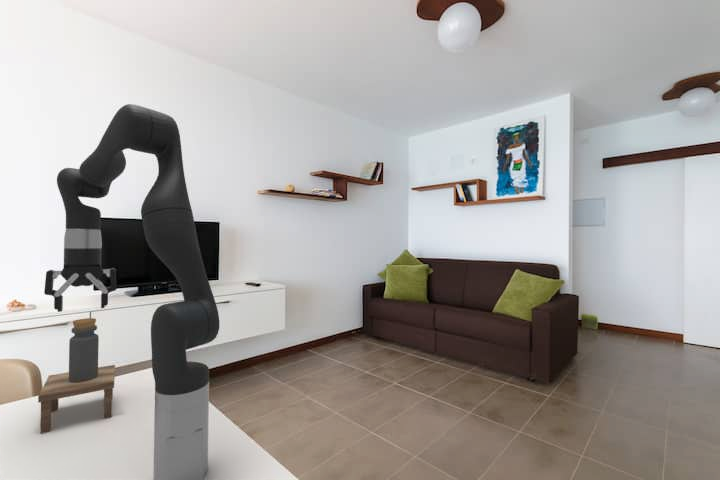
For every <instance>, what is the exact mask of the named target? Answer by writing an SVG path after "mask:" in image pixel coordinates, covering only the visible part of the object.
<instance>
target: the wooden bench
mask: <svg viewBox="0 0 720 480" xmlns="http://www.w3.org/2000/svg"><path fill="white" fill-rule="evenodd" d="M115 373H116V364H112V365H110V364H109V365H106V366H98V376H97V377H96V378H94V379H91V380H88V381H84V382H69V371H68V372H62V373H61V372H60V373H56V374H50V375H48V376H47V379H46V381H45V382H44V384H43V386H42V387H41V390H40V392H39V393H38V397H37V399H38V401H37V402H38V404H39V403H40V426H39V427H40V428H39V429H40V431H39V433H40V434H45V433H49V432H51V429H52V413H54V412H58V410H59V399H64V398H69V397H74V396H79V395H84V394H90V393H95V392H99V391H103V419H105V420H106V419H108V418H112V415H113V411H112V410H113V397H114V396H113V395H114V393H113V391H114V389H115V378H116V376H115Z"/></svg>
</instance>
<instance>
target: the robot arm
mask: <svg viewBox="0 0 720 480" xmlns="http://www.w3.org/2000/svg"><path fill="white" fill-rule="evenodd" d="M129 149H130V150H132V151H136V152H140V153H146V154H149V155H154V156H155V158H156V161H157V165H158V173H157V177H156V179H155V181H154V184H153V185H152V186H151V188H150V189H149V191H148V192H147V195H146V197H145V198H144V200H143V203H142V204H141V208H140V216H141V222H142V226H143V232H144V237H145V241H146V243H147V245H148V246H149V249H151V251H152V252H153V253H154V254H155V256H157V258H158V259H159V260H160V261H161V262H162V263H163V265H165V266H166V268H168V269H169V271H170V272H171V273H172V274H173V275H174V278H175V279H176V280H177V282H178V284H179V288H180V290H181V293H182V296H183V300H182V301H174V302H169V303H165V304H162V305H160V306H157V308H156V309H155V311H154V312H153V314H152V318H151V323H150V341H151V342H150V343H151V345H150V346H151V370H152V375H153V378H154V419H153V420H154V422H153V423H154V425H153V427H154V429H153V433H154V434H153V475H152V476H153V477H152V478H153V480H204V476H205V475H206V473H207V472H208V470H209V469H208V468H209V467H208V466H209V465H208V464H209V410H210V409H209V406H210V405H209V404H210V403H209V401H210V368H209V367H208V365H207V364H205V363H203V362H199V361H188V360H187V350H190V349H194V348H197V347H200V346H204V345H207V344H208V343H211V342H213V341H214V340H215V339H216V338H217V336H218V335H219V331H220V315H219V310H218V306H217V303H216V299H215V297H214V294H213V291H212V288H211V285H210V281H209V279H208V276H207V273H206V269H205V266H204V265H205V264H204V261H203V257H202V254H201V252H202V251H201V249H200V244H199V240H198V233H197V229H196V224H195V219H194V215H193V210H192V205H191V202H190V198H189V194H188V188H187V183H186V177H185V169H184V162H183V161H184V160H183V152H182V151H183V150H182V143H181V134H180V130H179V126H178V124H177V122H176V121H175V119H174V118H173V117H172V116H170V115H168V114H166V113H163V112H161V111H157V110H154V109H151V108H147V107H145V106H141V105H138V104H131V103H129V104H125V105H123V106H122V107H120V108H119V109H118V110H117V112H116V113H115V114H114V115H113V117H112V119H111V121H110V122H109V125H108V126H107V128H106V130H105V132H104V133H103V135H102V137H101V139H100V140H99V144H97V146H96V148H95V149H94V151H93V152H91V154H89V156H87V158H85V159H84V160H83V161H82V162H81V164H80V165H79V168H73V167H65V168H63V169H61V170H60V171H59V172H58V173H57V176H56V185H57V188H58V191H59V193H60V196H61V200H62V203H63V207H64V211H65V232H64V236H63V237H64V238H63V240H64V241H63V266H62V267H63V268H62V270H53V269H48V270H47V271H46V273H45V280H44V282H45V283H44V295H46V296H47V295H48V296H52V297H53V298H54V300H53V301H54V302H53V309H54V310H57V313H59V312H63V304H64V303H63V299H64V298H63V297H64V296H63V295H62V294H64V293H65V292H66V290H67V289H68V288H69V287H70V286H72V287H75V288H76V287H81V286H83V287H90V286H93V285H94V286H95V288H97V289H98V290H100V292H101V294H100V309H105V307H107V306H108V304H109V302H108V301H109V293H112V292H114V291H116V290H117V287H118V286H117V274H116V273H117V272H116V271H117V270H116V268H115V267H114V268H113V267H112V268H105V269H103V268H102V247H103V242H102V240H103V239H102V238H103V237H102V232H101V231H102V230H101V226H102V224H101V223H102V222H101V221H102V212H101V210H100V209H99V208H98V207H94V206H90V205H87V204H84V203H83V202H82V201H81V199H80V198H90V199H102V198H104V197H107V195H109V192H110V188H111V185H112V183H113V182H114V181H115V180H116V179H117V178H119V177H120V176H121V175H122V174H123V173H124V171H125V170H126V166H127V159H126V157H125V153H124V150H129ZM103 274H105V275H106V277H107V278H109V279H110V280H109V281H110V286H108V287H106V286H105V285H104V283H103V282H102V281H101V280H100V278H101V277H102V276H103ZM59 276H61V277H62V278H63V279H64V280H65V282H64V283H63V284H62V285H61V286H60V287H59V288H58V289H57V290H56V289H54V281H55V280H56V279H57V278H58V277H59Z"/></svg>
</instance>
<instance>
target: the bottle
mask: <svg viewBox="0 0 720 480" xmlns="http://www.w3.org/2000/svg"><path fill="white" fill-rule="evenodd" d="M96 323H97V319H96V318H93V317H89V318H80V319H75V320H73V321H72V325H73V327H72V328H71V333H72V334H73V336H71V338H70V339H69V343H68V344H69V345H68V346H69V347H68V348H69V349H68V372H69V382H84V381H88V380H91V379H94V378H96V377H97V376H98V367H99V345H100V343H99V340H100V339H99V338H100V337H99V334H97V333H95V331H97V330H98V325H96Z"/></svg>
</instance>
